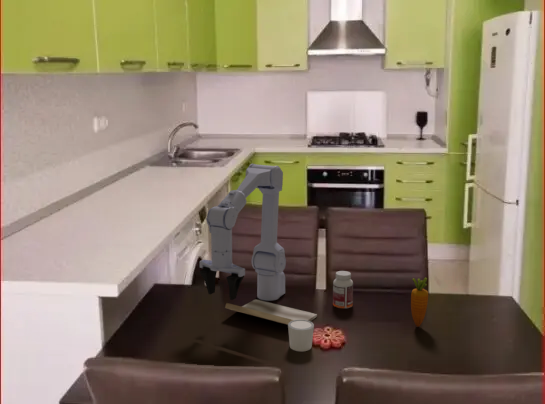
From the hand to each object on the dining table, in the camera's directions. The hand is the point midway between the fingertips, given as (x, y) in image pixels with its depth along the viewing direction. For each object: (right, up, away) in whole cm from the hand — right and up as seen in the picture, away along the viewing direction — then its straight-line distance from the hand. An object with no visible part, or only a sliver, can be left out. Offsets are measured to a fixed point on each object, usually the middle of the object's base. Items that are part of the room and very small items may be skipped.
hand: (222, 296), depth 171 cm
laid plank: (+16, -8, +12) cm, 21 cm away
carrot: (+56, -10, +4) cm, 57 cm away
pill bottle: (+36, -6, +19) cm, 41 cm away
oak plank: (+11, -7, +4) cm, 14 cm away
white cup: (+22, -13, -10) cm, 27 cm away
